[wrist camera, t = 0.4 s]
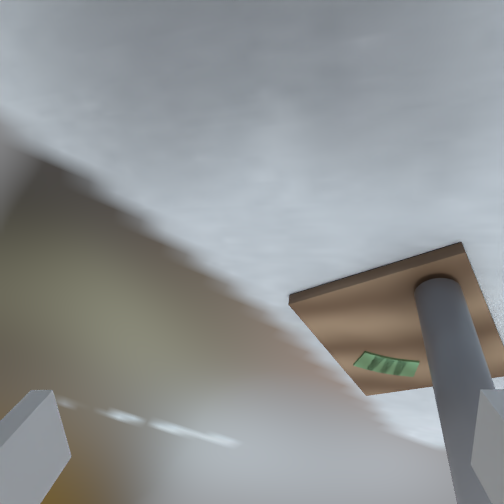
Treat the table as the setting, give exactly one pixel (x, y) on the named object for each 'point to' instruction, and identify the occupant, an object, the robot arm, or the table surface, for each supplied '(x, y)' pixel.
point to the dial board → (392, 320)
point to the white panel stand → (454, 377)
